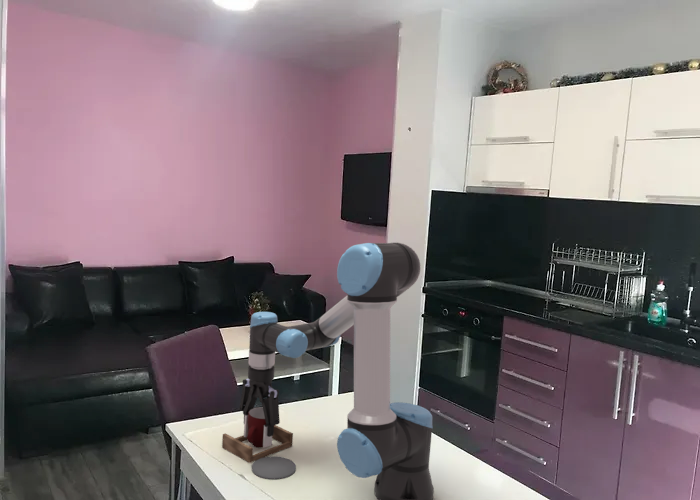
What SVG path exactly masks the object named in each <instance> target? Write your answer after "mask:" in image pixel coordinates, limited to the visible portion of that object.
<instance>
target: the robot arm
mask: <svg viewBox="0 0 700 500" xmlns="http://www.w3.org/2000/svg"><path fill="white" fill-rule="evenodd" d="M420 273H421V262H420V258H419V256H418V254H417V252H415V250H414V249H413V248H412V247H410V246H408V245H407V244H404V243H401V242H375V243H374V242H373V243H371V242H365V243H364V242H363V243H359V244H354V245H351V246H350V247H349V248H347V249H345V251H344V253H343V254H342V255H341V257H340V258H339V260H338V264H337V270H336V278H337V282H338V285H340V289H341V290H342V292H344V293H345V294H347V295H345V296H344V297H343V298H342V299H340V300H339V302H337V303H336V304H335V305H333V306H332V307H331V308H330V309H328V310H327V311H326V312H325V313H324V314H322V315H321V316H320V317H319V318H317V319H316V320H315V321H313V322H306V323H303V324H297V325H296V324H295V325H290V326H288V325H287V326H286V325H282V324H280V323H278V315H277V314H276V313H274V312H271V311H258V312H254V313H253V314H251V318H250V325H249V347H248V349H249V350H248V365H249V366H248V367H247V368H248V369H247V378H244V379H243V380H242V389H241V395H240V403H239V407H238V408H239V411H240V412H242V414H243V425H244V427H243V428H244V429H243V435H244V437H247V435H248V412H249V410H251V409H253V408H255V405H256V403H257V400H259V402H260V403H261V407H263V411H264V416H265V421H266V425H264V435H263V448H264V449H265V448H268V447H270V446H272V445H273V444H272V443H273V439H272V436H273V433H274V425H276V426H278V425H279V424H280V423H281V422H280V421H281V420H280V408H279V407H280V405H279V397H280V390H279V389H274V388H273V386H272V382H273V380H274V378H275V365H276V364H275V363H276V362H275V361H276V353H277V354H280V355H281V356H284V357H286V358H290V359H296V358H297V359H298V358H300V357H301V356H302V355H304V354H305V353H306V351H311V350H316V349H321V348H328V347H331V346H335V345H336V344H337V343H338V342H339V340H340V338H341V335H342V334H344V333H345V332H346V331H348V330H349V329H350V328H352V327H353V408H352V409H351V410H350V411H349V412H348V414H347V417H346V418H347V419H346V421H347V422H346V423H347V427H346V429H342V431H341V432H340V434H339V435H338V436H337V441H336V447H337V453H338V457H339V458H340V459H339V460H341V462H342V464H343V465H344V466H345V468H346V469H347V471H348V472H350V474H351V475H353V476H356V477H358V478H361V479H366V478H370V477H372V476H376V478H375V481H374V486H373V487H374V489H373V492H374V496H375V497H376V498H377V500H434V494H435V493H434V492H435V490H434V485H433V480H432V477H431V471H430V457H431V456H430V455H431V444H432V435H433V434H432V433H433V432H432V431H433V429H434V428H433V427H434V426H433V415H432V413H431V411H430V410H428V409H427V408H426V407H422V406H421V405H418V404H417V405H416V404H413V403H408V402H403V401H402V402H401V401H399V402H398V401H397V402H396V401H395V402H391V309H392V307H393V306H394V305H395V304H396V303H397V301H398V297H399V296H401V295H402V294H404V293H405V292H406V291H408V290H409V289H410V288H411V287H413V286H414V285H415V284H416V282H417V281H418V278H419V276H420ZM258 398H259V399H258Z"/></svg>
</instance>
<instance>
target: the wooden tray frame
mask: <svg viewBox="0 0 700 500" xmlns="http://www.w3.org/2000/svg"><path fill="white" fill-rule="evenodd" d="M221 440H222V441H221V448H222V449H224V450H226V451H227V452H229V453H231V454H233V455H235V456H236V457H238V458H240V459H241V460H243V461H245V462H247V463H249V464H252V463H254V462H255V461H256V460H258V459H260V458H263V457H269V456H272V455H274V454H277V453H278V452H282V451H285V450H287V449H289V448H292V447H293V440H294V433H293V432H291V431H289V430H287V429H285V428H282V427H280V426H278V425H274V433H273V436H272V440H275V441H276V442H279V443H281V444H278V445H276V446H273V447H270V448H268V449H265V450H263V451H260V452H257V453H254V448H253V446H252V447H251V446H250V445H248V444H247V443H244V442H246V441H248V440H247V437H244V434H243V435H240V436H238V437H233V436H231V435H229V434H227V433H223V434H222V439H221Z"/></svg>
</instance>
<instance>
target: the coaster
mask: <svg viewBox="0 0 700 500" xmlns="http://www.w3.org/2000/svg"><path fill="white" fill-rule="evenodd" d="M296 470H297V465H296V463H295V462H294V461H293V460H292V459H290V458H287V457H283V456H277V455H276V456H275V455H274V456H273V455H269V456H266V457H263V458H260V459H258V460H256V461H254V462H252V463H251V472H252V473H253V474H254V475H255V476H256V477H259V478H260V479H261V478H262V479H264V480H270V481H271V480H272V481H273V480H283V479H286V478H289V477H291V476H293V475H294V474H295V473H296Z"/></svg>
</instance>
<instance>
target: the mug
mask: <svg viewBox="0 0 700 500" xmlns="http://www.w3.org/2000/svg"><path fill="white" fill-rule="evenodd" d="M264 425H266V421H265V416H264V411H263V407H262V406H261V407H260V406H259V407H258V406H257V407H254V408H253V409H251V410H249V412H248V435H247V440H246V441H247V442H248V443H251V445H252V447H254V448H258V449H263V448H264V447H263V435H264Z"/></svg>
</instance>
